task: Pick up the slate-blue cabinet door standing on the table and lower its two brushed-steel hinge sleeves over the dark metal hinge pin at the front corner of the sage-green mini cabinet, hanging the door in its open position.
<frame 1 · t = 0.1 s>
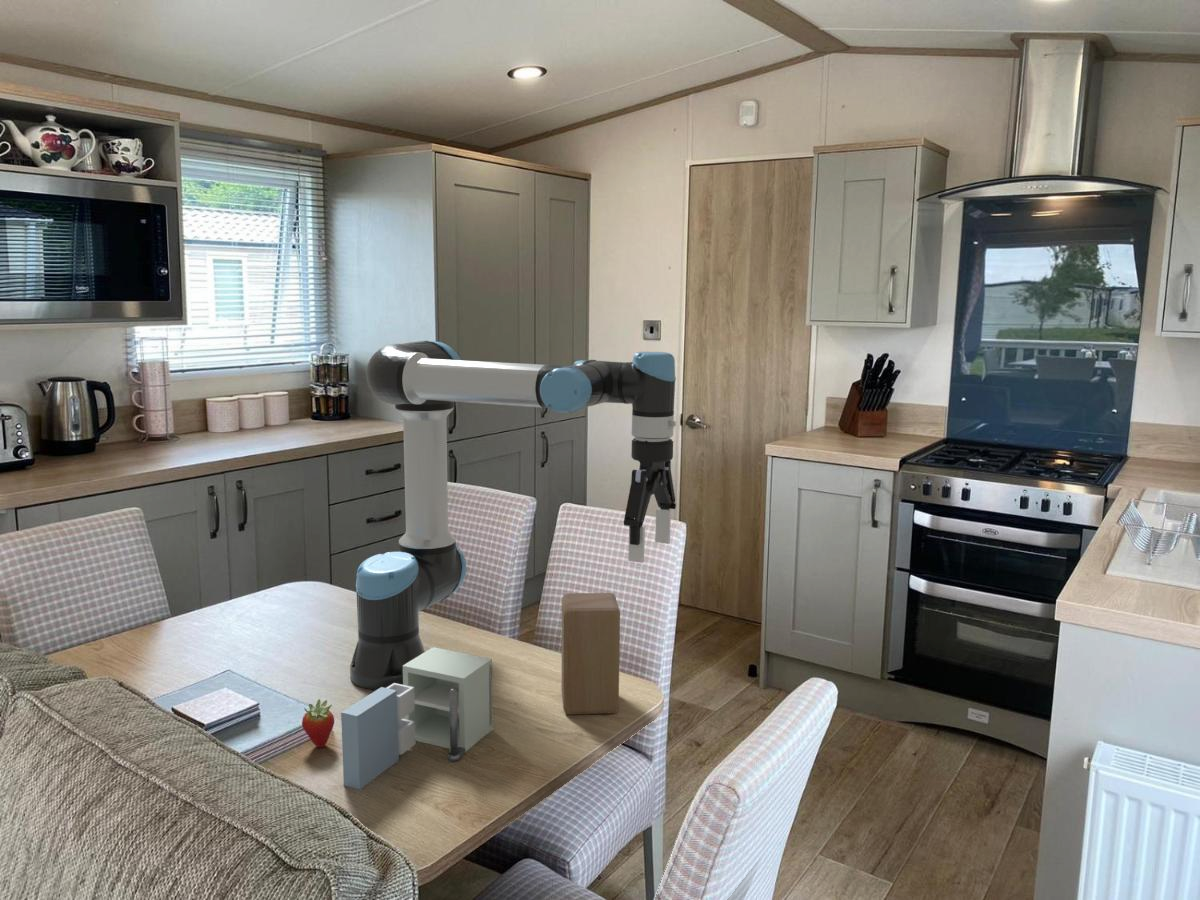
hand: (649, 551, 172), 28 cm above the table, fingers open, 13 cm apart
hinge pin: (454, 758, 152), on the table
door: (372, 772, 148), on the table
fruit: (319, 747, 156), on the table
wooden block: (589, 704, 173), on the table
cabinet: (448, 733, 161), on the table
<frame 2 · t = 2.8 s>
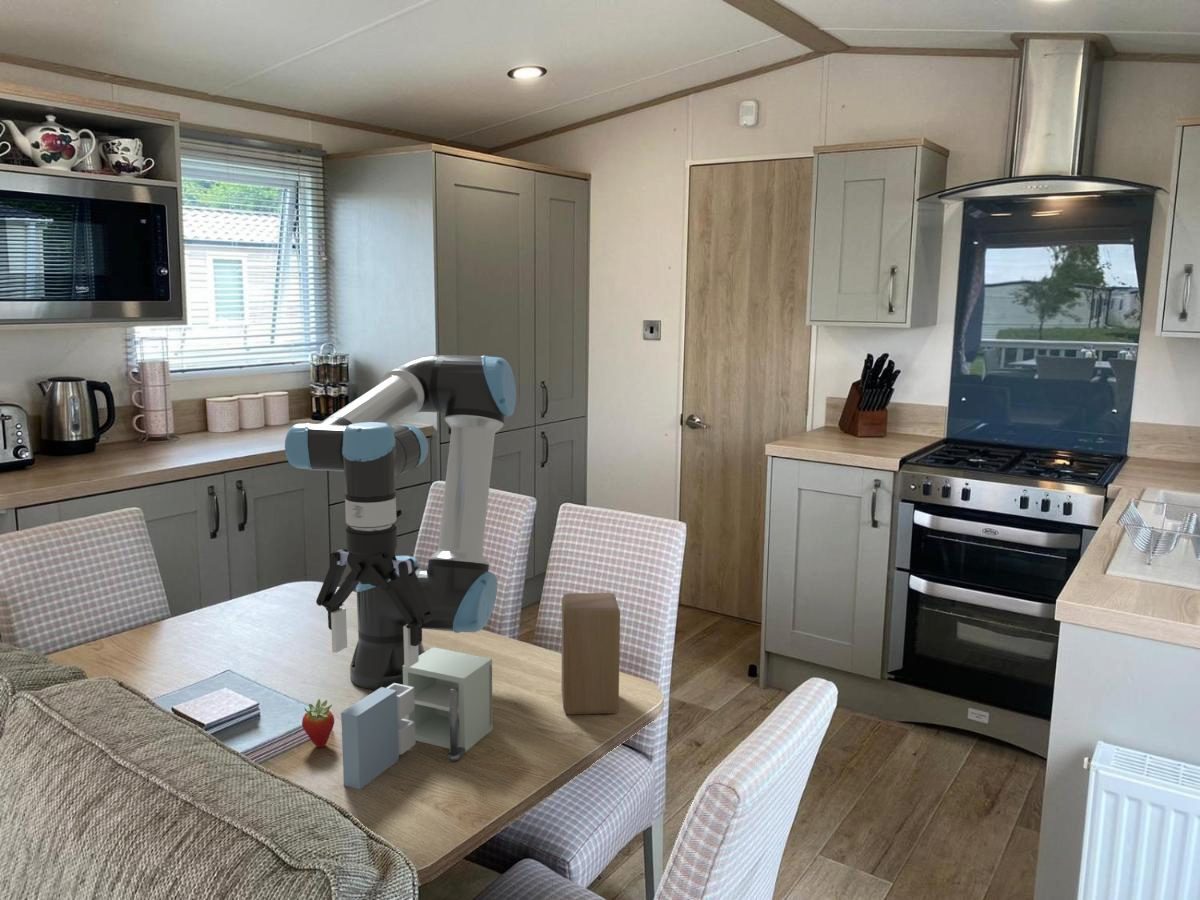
hand: (375, 657, 146), 19 cm above the table, fingers open, 13 cm apart
nothing on the table moved.
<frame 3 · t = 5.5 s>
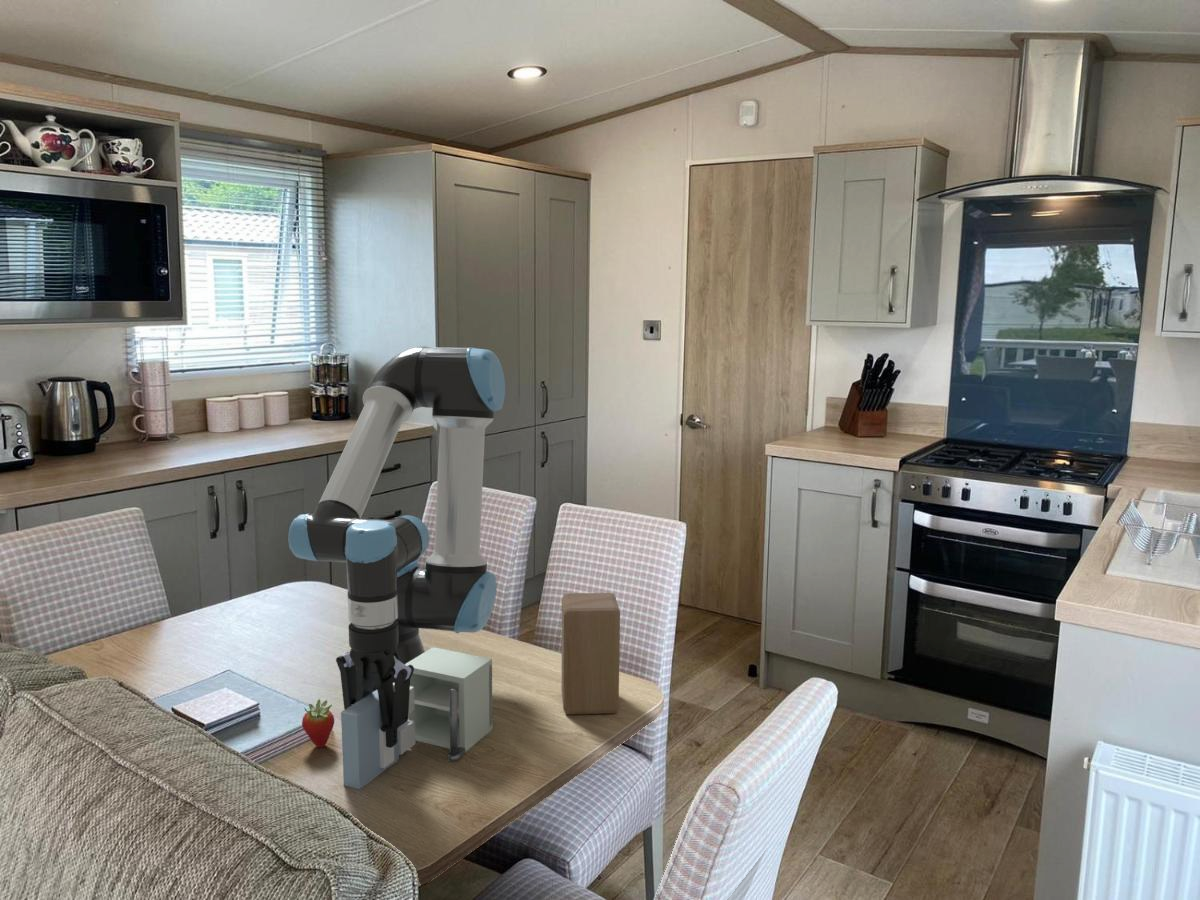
hand: (377, 761, 149), 1 cm above the table, fingers closed on door, 3 cm apart
door: (371, 771, 148), on the table, touching gripper
everything else where it was.
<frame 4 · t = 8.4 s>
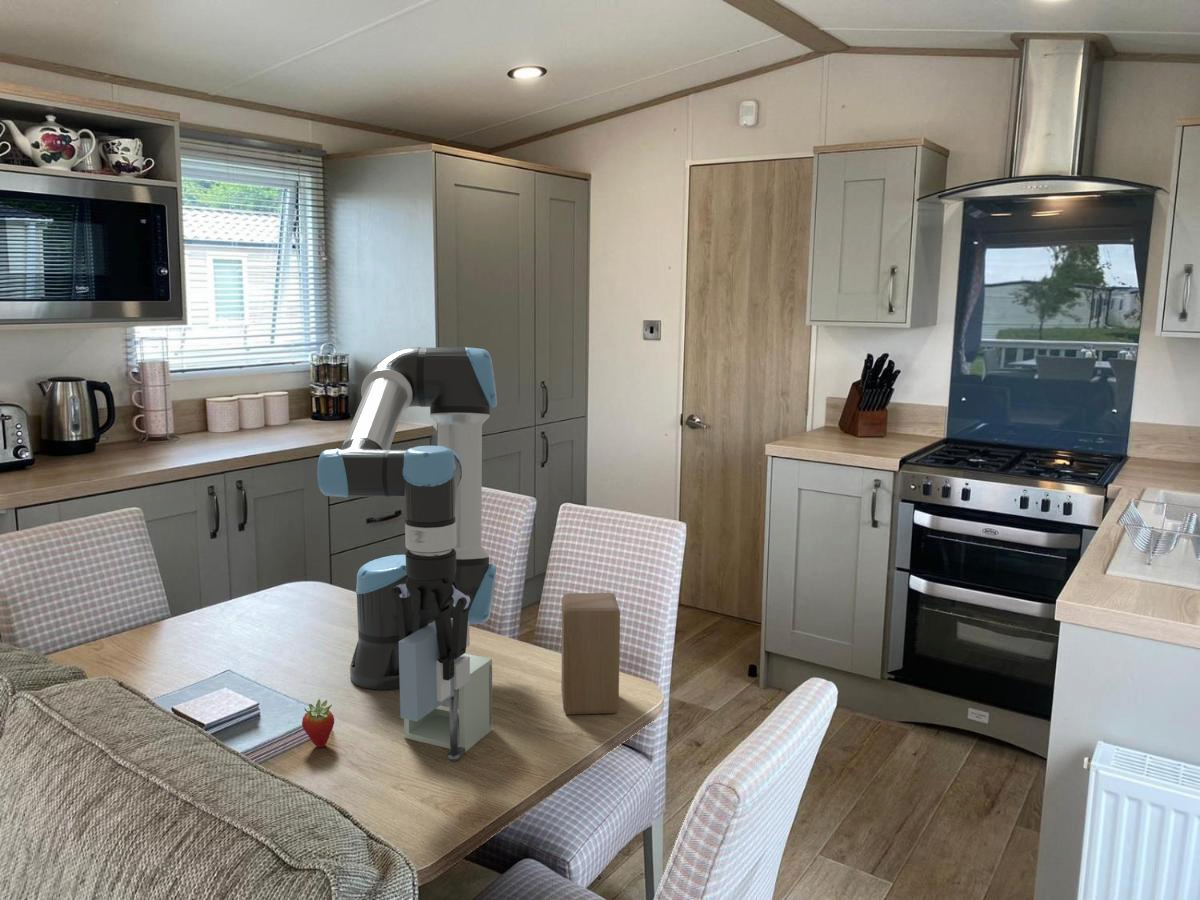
hand: (433, 695, 145), 13 cm above the table, fingers closed on door, 3 cm apart
door: (428, 706, 144), point 12 cm above the table, touching gripper
everything else where it was.
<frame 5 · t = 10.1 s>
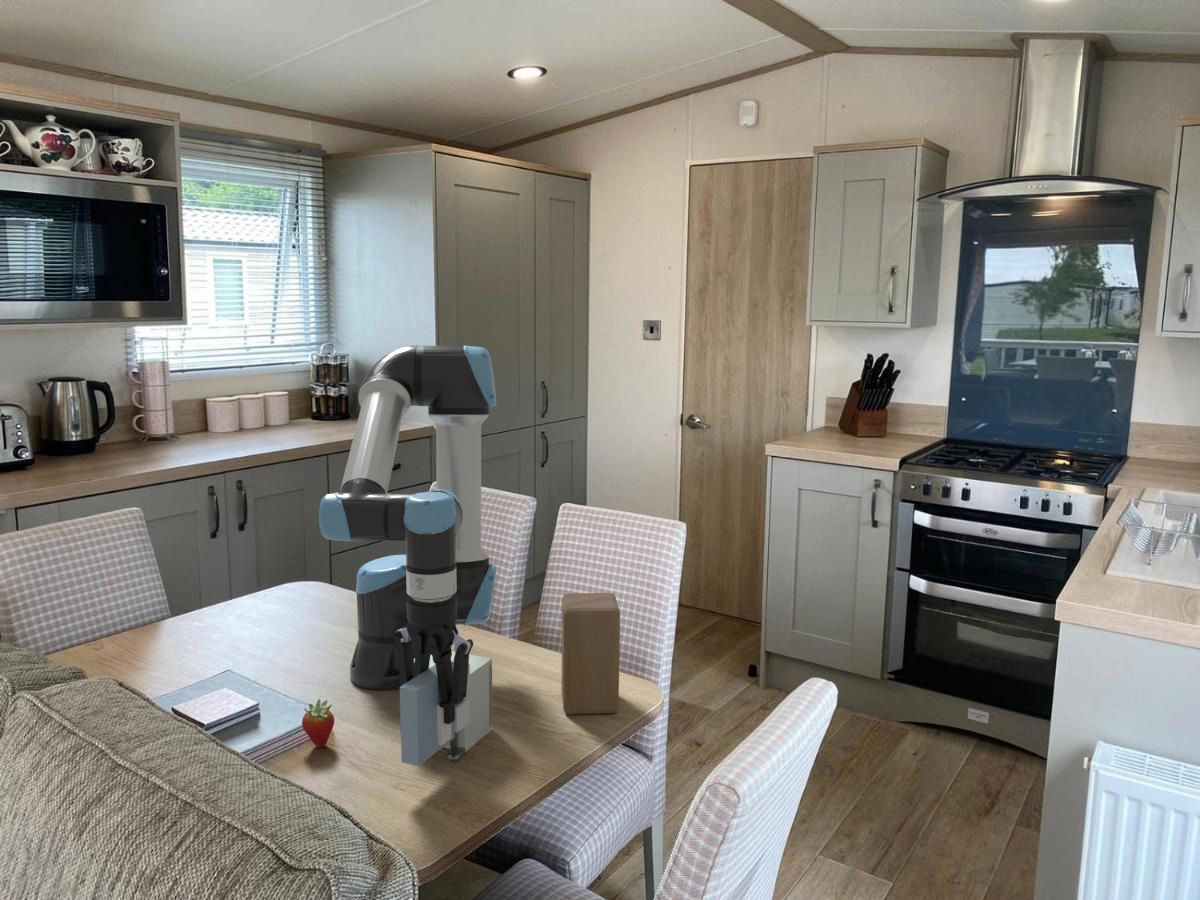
hand: (434, 738, 146), 6 cm above the table, fingers closed on door, 3 cm apart
door: (428, 749, 145), point 5 cm above the table, touching gripper
everything else where it was.
when the fingers open (2 cm above the table, at t = 11.3 s): door stays where it is, on the table.
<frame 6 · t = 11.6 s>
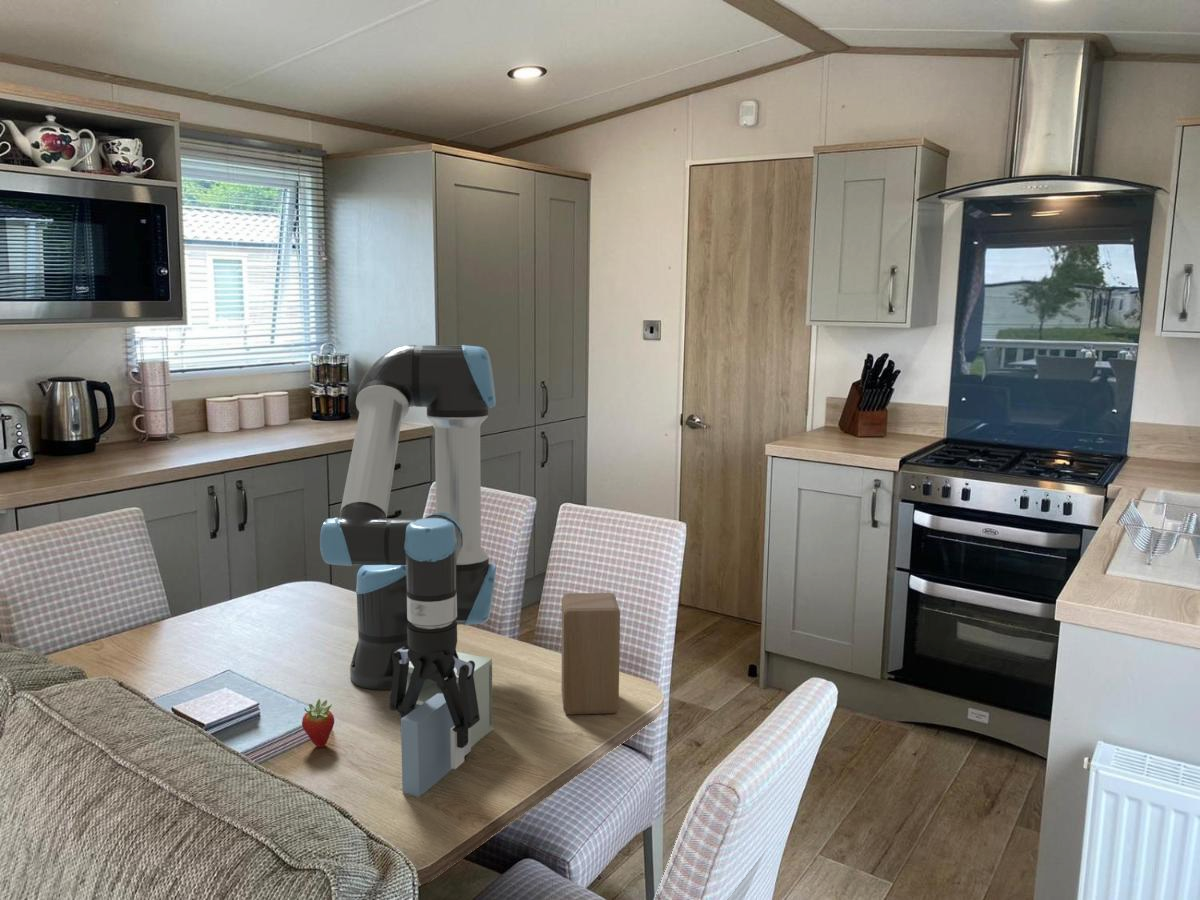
hand: (434, 758, 147), 3 cm above the table, fingers open, 8 cm apart
door: (429, 779, 146), on the table
everything else where it was.
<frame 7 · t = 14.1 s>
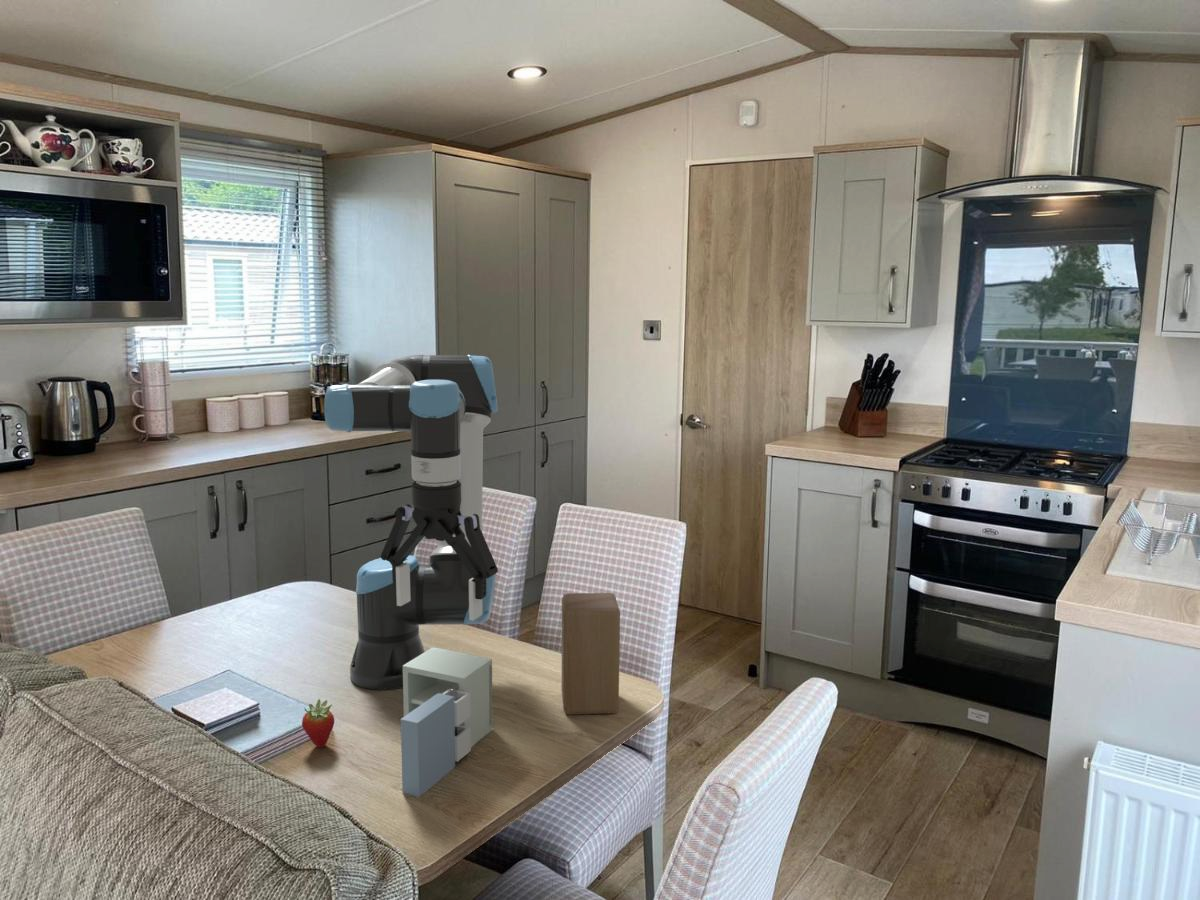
hand: (439, 610, 149), 25 cm above the table, fingers open, 13 cm apart
nothing on the table moved.
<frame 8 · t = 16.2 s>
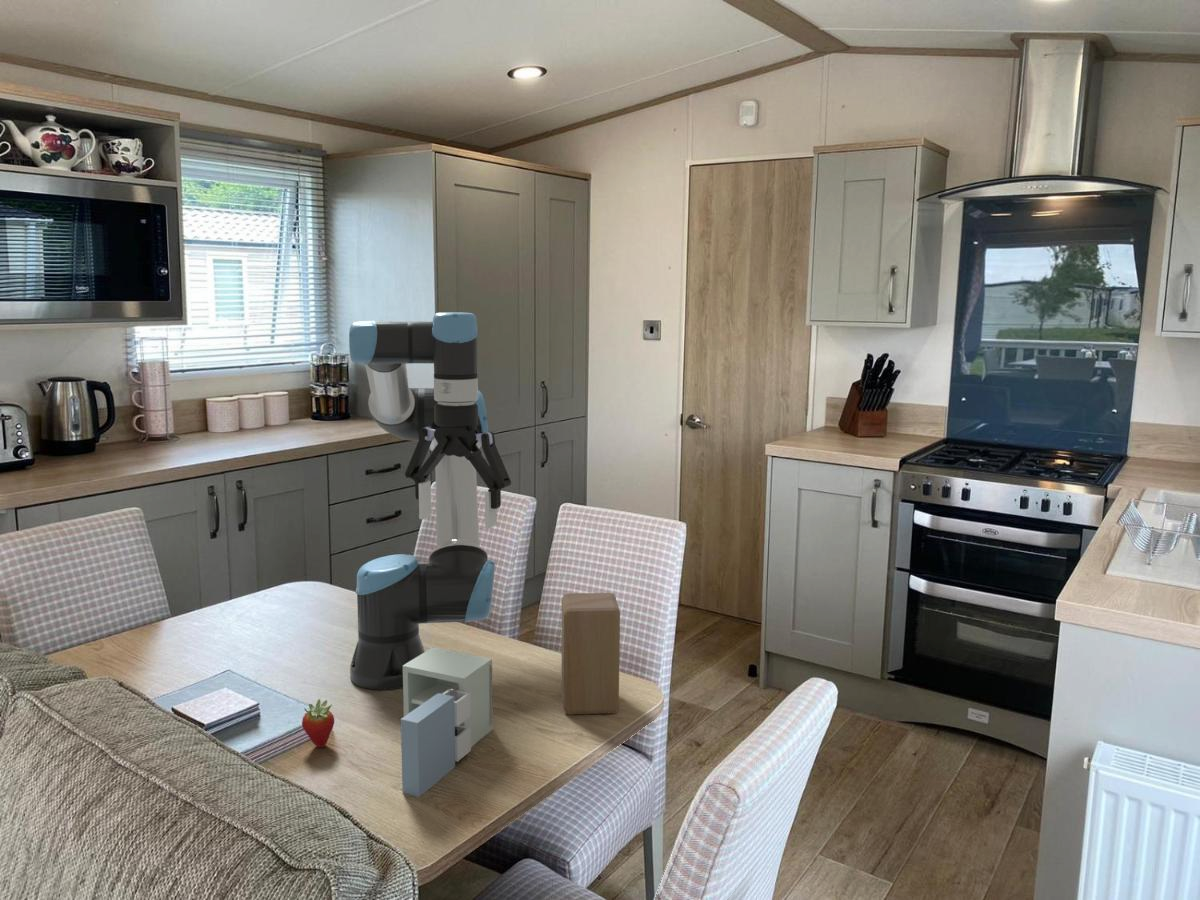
hand: (457, 522, 165), 35 cm above the table, fingers open, 13 cm apart
nothing on the table moved.
at the end: door 0.1 cm from the target spot on the table beside the hinge pin, on the table; door tilted 0°; the gripper is holding nothing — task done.
